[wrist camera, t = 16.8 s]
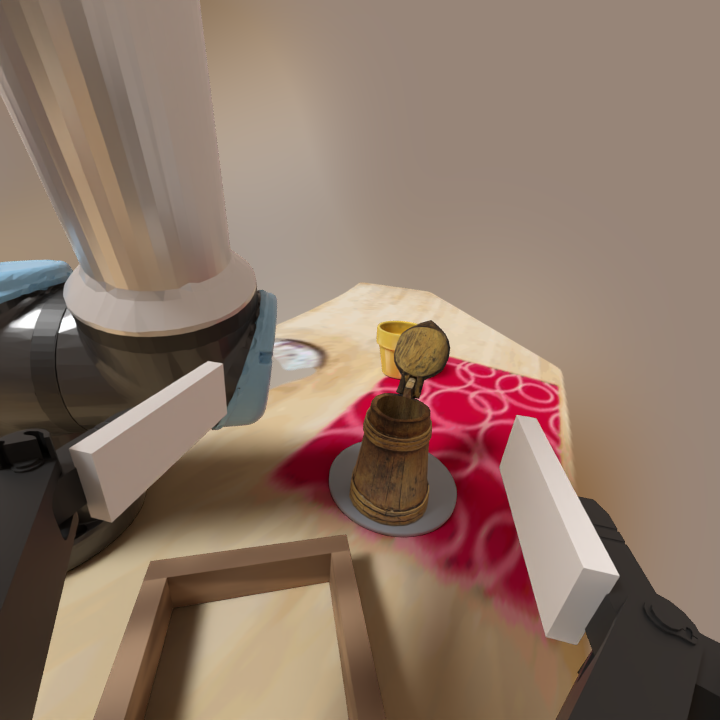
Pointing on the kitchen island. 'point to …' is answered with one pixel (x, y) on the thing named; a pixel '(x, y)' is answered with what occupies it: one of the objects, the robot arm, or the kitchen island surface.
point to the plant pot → (390, 344)
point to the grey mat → (433, 518)
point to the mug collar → (235, 579)
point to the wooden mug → (400, 434)
